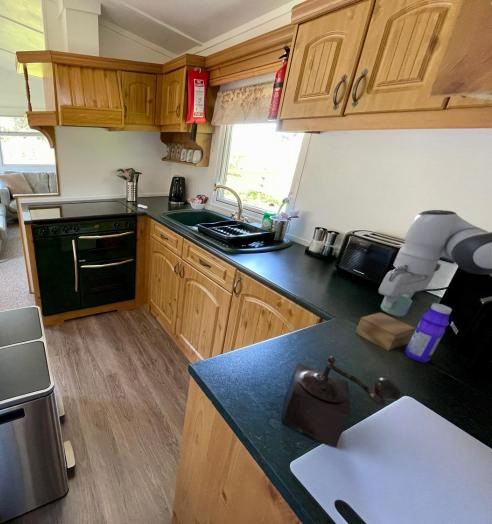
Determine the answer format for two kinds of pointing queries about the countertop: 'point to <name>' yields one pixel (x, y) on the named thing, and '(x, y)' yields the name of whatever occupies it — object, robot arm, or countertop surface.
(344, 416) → the manual coffee grinder
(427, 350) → the bottle
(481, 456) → the countertop surface
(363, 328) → the block
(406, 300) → the bowl
